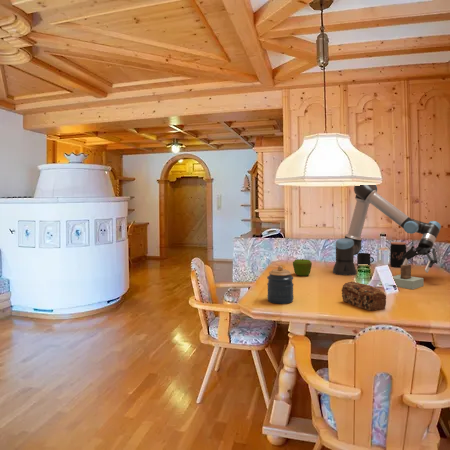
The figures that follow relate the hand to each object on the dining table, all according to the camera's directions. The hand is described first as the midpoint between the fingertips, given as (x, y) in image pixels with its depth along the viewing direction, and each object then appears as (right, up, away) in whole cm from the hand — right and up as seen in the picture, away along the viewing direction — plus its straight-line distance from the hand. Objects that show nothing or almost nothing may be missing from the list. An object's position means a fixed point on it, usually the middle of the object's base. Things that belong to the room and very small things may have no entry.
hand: (414, 269), depth 212 cm
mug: (-5, -5, +62) cm, 62 cm away
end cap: (-8, -9, -5) cm, 13 cm away
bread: (-47, -12, -43) cm, 65 cm away
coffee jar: (+17, -5, +55) cm, 58 cm away
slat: (-8, -9, -5) cm, 13 cm away
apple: (-61, -8, +28) cm, 67 cm away
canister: (-85, -12, -33) cm, 92 cm away
